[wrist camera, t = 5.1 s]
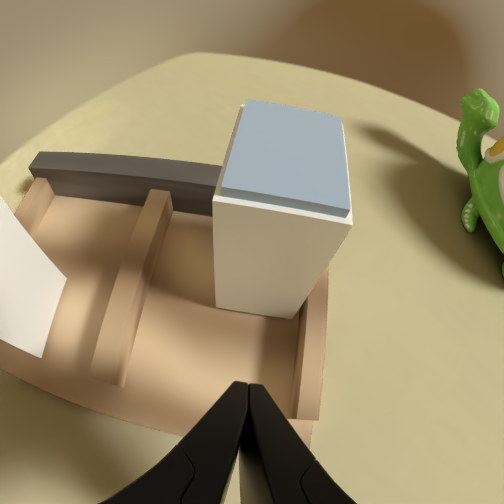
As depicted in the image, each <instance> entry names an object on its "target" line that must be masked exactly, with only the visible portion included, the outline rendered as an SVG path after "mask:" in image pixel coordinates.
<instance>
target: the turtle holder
mask: <svg viewBox="0 0 504 504" xmlns="http://www.w3.org/2000/svg"><path fill="white" fill-rule="evenodd" d="M461 103H462V108H463V119H462V122H461V124H460V127H459V131H458V138H457V142H456V143H457V147H456V148H457V151H458V157H459V159H460V161H461V163H462V165H463V166H464V168H465V169H466V171H467V173H468V175H469V180H470V187H471V193H472V198H471V199H470V200H469V201H468V202H467V203H466V205H465V207H464V208H463V211H462V214H461V219H462V222H463V225H464V227H465V228H466V230H467V231H468V232H473V231H474V230H475V227H476V223H477V219H478V217H479V216H481V218H482V220H483V222H484V224H485V226H486V227H487V229H488V231H489V233H490V234H491V236H492V238H493V240H494V241H495V243H496V244H497V246H498V247H499V249H500V250H501V251H502V253H503V254H504V136H503V137H502V138H501V139H499V140H498V141H497V142H496V143H495V144H494V145H493V146H492V147H491V148H489V149H487V150H486V152H485V157H484V159H483V158H482V155H481V141H482V138H483V136H484V134H485V133H486V132H487V131H489V130H491V129H493V128H495V127H496V125H497V123H498V116H499V106H498V104H497V103H496V101H495V100H494V99H493V98H491V97H490V96H488V94H487V93H486V92H485V91H484V90H482V89H481V88H477V89H474V90H473V91H471V92H470V93H469V95H468V96H463V97H462V101H461ZM502 274H503V278H504V262H503V265H502Z"/></svg>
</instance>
